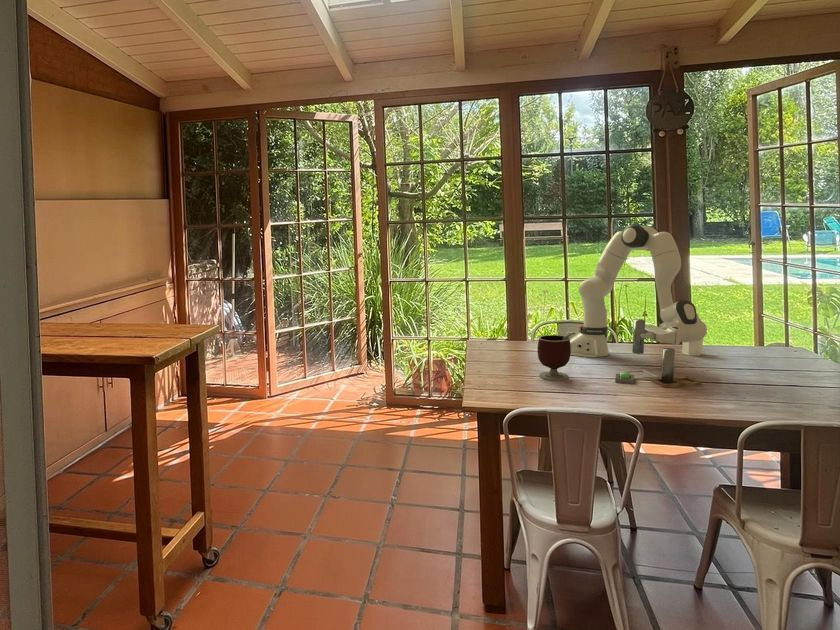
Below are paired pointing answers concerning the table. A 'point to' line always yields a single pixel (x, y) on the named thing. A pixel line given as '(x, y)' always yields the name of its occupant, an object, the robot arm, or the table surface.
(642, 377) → the square tray
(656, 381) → the tray
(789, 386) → the table surface
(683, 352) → the jar
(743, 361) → the table surface
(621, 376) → the button
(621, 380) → the switch box
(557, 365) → the mate gourd
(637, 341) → the cylinder
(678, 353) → the table surface
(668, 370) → the cylinder
